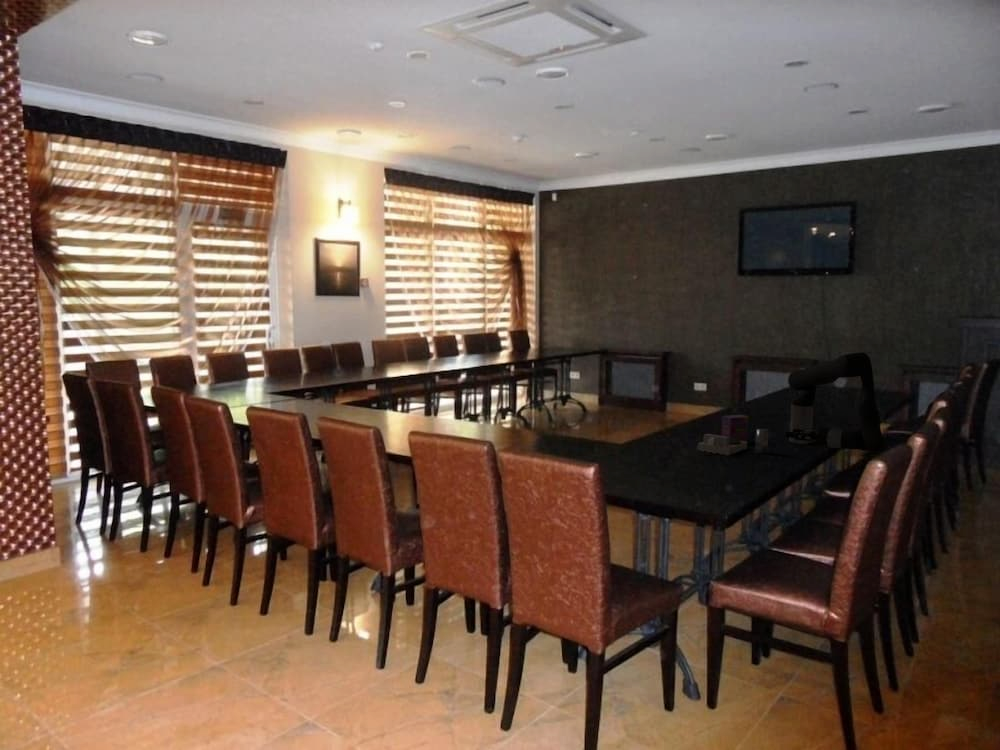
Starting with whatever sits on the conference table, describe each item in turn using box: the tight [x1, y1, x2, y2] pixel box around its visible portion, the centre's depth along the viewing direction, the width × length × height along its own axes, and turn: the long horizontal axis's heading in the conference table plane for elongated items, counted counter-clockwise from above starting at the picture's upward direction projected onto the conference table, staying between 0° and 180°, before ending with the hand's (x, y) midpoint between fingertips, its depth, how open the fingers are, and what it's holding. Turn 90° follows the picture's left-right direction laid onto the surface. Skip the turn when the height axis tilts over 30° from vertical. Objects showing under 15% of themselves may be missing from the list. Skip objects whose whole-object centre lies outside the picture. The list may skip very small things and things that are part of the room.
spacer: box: [754, 428, 770, 455], centre depth 305 cm, size 5×5×10 cm
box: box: [721, 414, 749, 443], centre depth 328 cm, size 10×6×12 cm, turn 112°
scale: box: [697, 433, 748, 456], centre depth 311 cm, size 19×14×7 cm
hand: (789, 432), depth 297 cm, fingers open, 8 cm apart
